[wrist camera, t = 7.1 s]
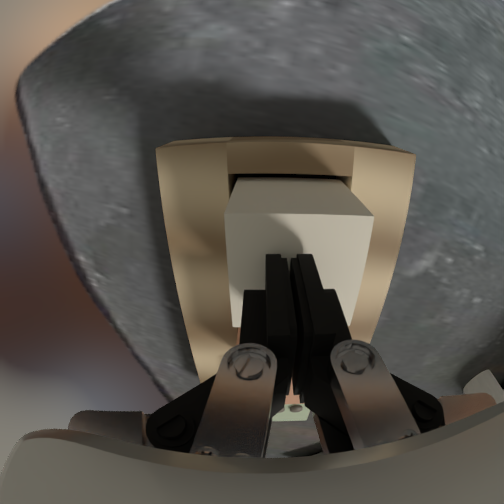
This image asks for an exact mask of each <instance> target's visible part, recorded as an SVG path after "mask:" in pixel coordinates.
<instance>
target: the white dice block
mask: <svg viewBox="0 0 504 504" xmlns="http://www.w3.org/2000/svg"><path fill="white" fill-rule="evenodd" d="M224 221H225V236H226V251H227V264H228V277H229V290H230V302H231V313H232V325H233V327H241V317H242V306H243V294H244V290H265V260H266V254H281V258H287V263H288V269H289V275H290V263H291V258H296V255H297V254H312V255H313V257H314V260H315V264H316V267H317V270H318V273H319V276H320V279H321V283H322V286H323V289H335V291H336V293H337V296H338V299H339V301H340V304H341V307H342V310H343V313H344V316H345V319H346V322H347V325H348V326H350V324H351V320H352V317H353V313H354V309H355V305H356V302H357V298H358V294H359V290H360V286H361V281H362V277H363V273H364V268H365V264H366V259H367V254H368V249H369V244H370V239H371V233H372V228H373V222H374V215H373V214H372V213H371V212H370V211H369V210H368V209H367V208H366V206H365V205H364V204H363V203H362V202H361V201H360V200H359V199H358V198H357V197H356V196H355V195H354V194H353V193H352V192H351V191H350V189H349V188H348V187H347V186H346V185H345V184H344V183H343V182H342V181H341V180H336V179H314V178H270V177H252V178H238V179H237V181H236V184H235V186H234V189H233V192H232V194H231V197H230V199H229V202H228V205H227V207H226V210H225V212H224Z"/></svg>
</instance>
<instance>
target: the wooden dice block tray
mask: <svg viewBox="0 0 504 504" xmlns="http://www.w3.org/2000/svg"><path fill="white" fill-rule="evenodd" d="M155 149H156V159H157V169H158V177H159V185H160V193H161V201H162V208H163V214H164V221H165V227H166V233H167V239H168V245H169V251H170V256H171V262H172V267H173V272H174V277H175V282H176V287H177V291H178V296H179V301H180V305H181V310H182V314H183V318H184V322H185V326H186V331H187V335H188V339H189V342H190V346H191V350H192V354H193V358H194V361H195V365H196V368H197V372H198V375H199V379H200V382H201V383H202V382H204V381H206V380H207V379H209V378H210V377H212V376H213V375H215V374H216V373H217V371H218V369H219V366H220V363H221V360H222V358H223V356H224V354H225V353H226V352H227V351H228V350H229V349H230V348H232V347H234V346H236V342H237V334H238V327H233V325H232V313H231V302H230V290H229V277H228V264H227V251H226V236H225V221H224V212H225V210H226V207H227V205H228V202H229V199H230V197H231V194H232V192H233V189H234V186H235V174H240V173H283V174H317V175H337V179H336V180H341V181H342V182H343V183H344V184H345V185H346V186H347V187H348V188H349V189H350V191H351V192H352V193H353V194H354V195H355V196H356V197H357V198H358V199H359V200H360V201H361V202H362V203H363V204H364V205H365V206H366V208H367V209H368V210H369V211H370V212H371V213H372V214H373V215H374V222H373V228H372V233H371V239H370V244H369V249H368V254H367V259H366V264H365V268H364V273H363V277H362V281H361V286H360V290H359V294H358V298H357V302H356V305H355V309H354V313H353V317H352V320H351V324H350V326H348V328H349V331H350V334H351V337H352V340H353V339H355V340H361V341H364V342H366V343H370V341H371V338H372V336H373V333H374V330H375V327H376V325H377V322H378V319H379V316H380V313H381V310H382V307H383V304H384V301H385V298H386V295H387V292H388V289H389V285H390V282H391V278H392V275H393V271H394V268H395V264H396V260H397V256H398V253H399V248H400V244H401V240H402V236H403V231H404V227H405V222H406V217H407V212H408V206H409V201H410V195H411V189H412V182H413V175H414V168H415V159H416V155H415V154H413V153H410V152H408V151H405V150H403V149H400V148H397V147H395V146H391V145H384V144H376V143H368V142H360V141H350V140H339V139H326V138H309V137H279V136H249V137H219V138H202V139H189V140H178V141H173V142H170V143H167V144H165V145H162V146H160V147H157V148H155Z"/></svg>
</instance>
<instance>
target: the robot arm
mask: <svg viewBox="0 0 504 504" xmlns="http://www.w3.org/2000/svg"><path fill="white" fill-rule="evenodd" d="M291 380H292V385H293V394H294V395H299V399H300V403H304V404H305V407H307V408H308V409H309V410H311V411H312V412H313V419H314V423H315V426H316V429H317V433H318V436H319V440H320V443H321V446H322V450H323V453H324V455H315V456H304V457H288V458H266V452H267V447H268V441H269V436H270V430H271V424H272V417H273V416H275V415H276V414H277V413H278V412H279V411H280V410H282V409H283V408H284V406H285V399H286V395H289V392H290V386H291ZM0 504H504V402H501V403H498V404H496V401H495V399H494V398H493V397H492V396H491V395H489V394H487V393H474V394H463V395H450V396H441V397H440V398H439V399H437V398H435V397H434V396H432V395H431V394H429V393H427V392H425V391H423V390H421V389H419V388H417V387H415V386H413V385H412V384H410V383H408V382H406V381H404V380H402V379H400V378H398V377H397V376H395V375H393V374H391V373H390V372H389V370H388V369H387V367H386V365H385V363H384V361H383V360H382V358H381V356H380V354H379V353H378V351H377V350H376V349H375V348H374V347H373V346H372V345H370V344H369V343H366V342H364V341H361V340H355V339H353V340H352V337H351V334H350V331H349V328H348V325H347V322H346V319H345V316H344V313H343V310H342V307H341V304H340V301H339V299H338V296H337V293H336V291H335V289H323V286H322V283H321V279H320V276H319V273H318V270H317V267H316V264H315V260H314V257H313V255H312V254H297V255H296V258H291V263H290V275H289V269H288V263H287V258H281V254H266V260H265V290H244V294H243V306H242V317H241V329H240V341H239V345H236V346H234V347H232V348H230V349H229V350H228V351H227V352H226V353H225V354H224V356H223V358H222V360H221V363H220V366H219V369H218V371H217V373H216V374H215V375H213V376H212V377H210V378H209V379H207V380H206V381H204V382H202V383H201V384H199V385H198V386H196V387H194V388H193V389H191V390H190V391H188V392H186V393H185V394H183V395H181V396H180V397H178V398H176V399H175V400H173V401H171V402H170V403H168V404H166V405H165V406H163V407H161V408H159V409H158V410H157V411H155V412H154V413H153V414H144V413H143V412H142V411H94V410H85V411H80V412H78V413H76V414H75V415H74V416H73V417H72V418H71V420H70V423H69V426H68V429H43V430H38V431H33V432H30V433H28V434H26V435H24V436H23V437H21V438H20V439H19V441H18V442H17V443H16V444H15V446H14V447H13V449H12V451H11V453H10V454H9V456H8V458H7V461H6V463H5V465H4V467H3V470H2V472H1V475H0Z"/></svg>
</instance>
